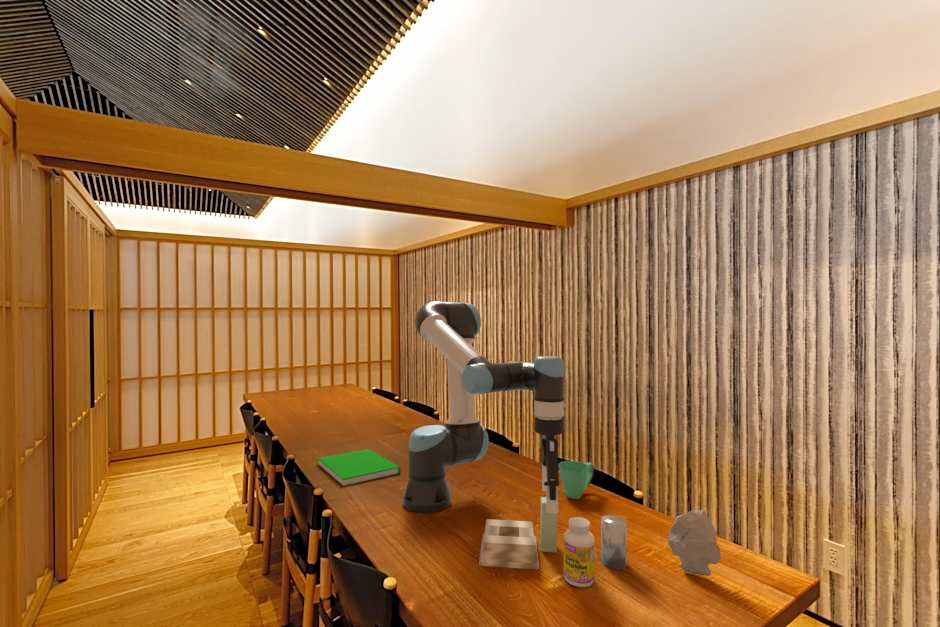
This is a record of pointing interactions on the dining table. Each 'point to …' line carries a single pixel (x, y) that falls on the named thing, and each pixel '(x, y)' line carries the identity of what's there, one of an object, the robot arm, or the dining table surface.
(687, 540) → the stone tool
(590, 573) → the supplement bottle
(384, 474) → the book
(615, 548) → the clear glass cylinder
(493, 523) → the socket block
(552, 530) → the square peg
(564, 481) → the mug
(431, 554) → the dining table surface
